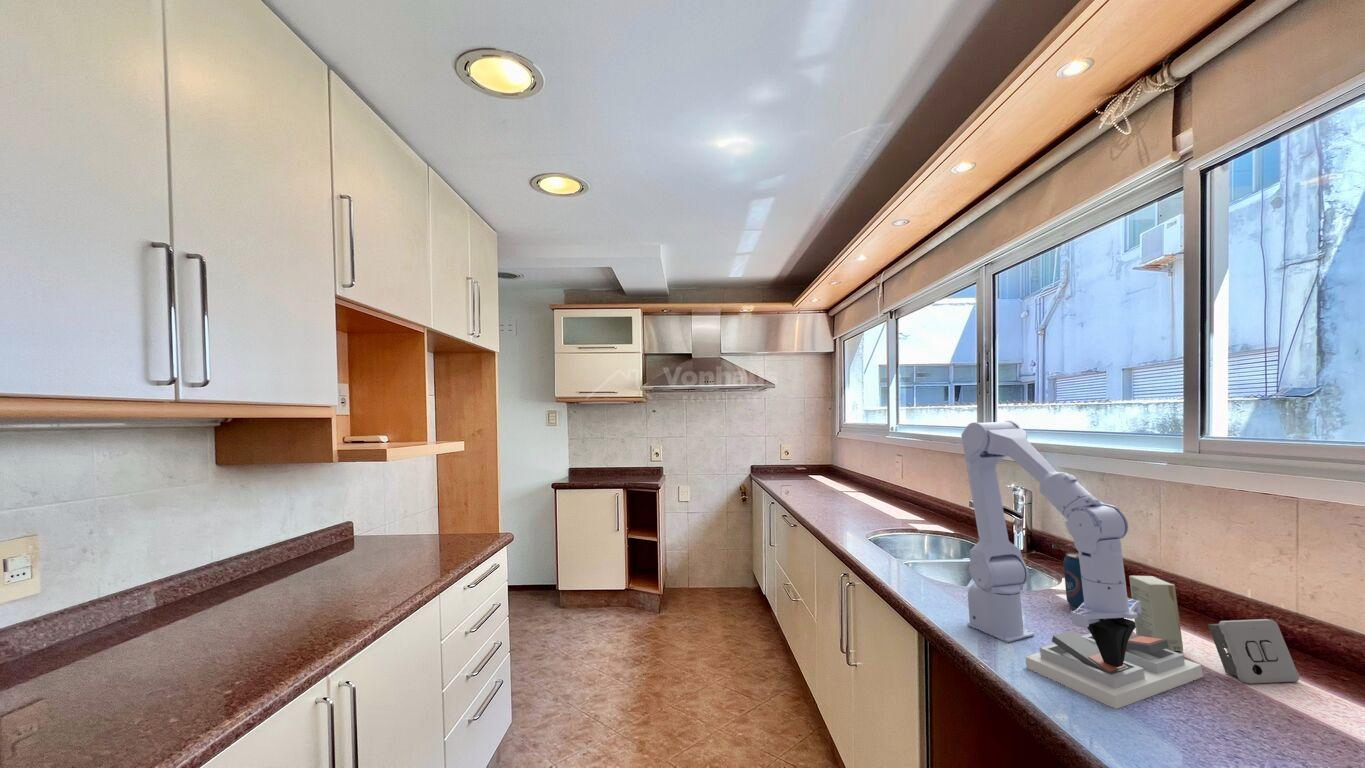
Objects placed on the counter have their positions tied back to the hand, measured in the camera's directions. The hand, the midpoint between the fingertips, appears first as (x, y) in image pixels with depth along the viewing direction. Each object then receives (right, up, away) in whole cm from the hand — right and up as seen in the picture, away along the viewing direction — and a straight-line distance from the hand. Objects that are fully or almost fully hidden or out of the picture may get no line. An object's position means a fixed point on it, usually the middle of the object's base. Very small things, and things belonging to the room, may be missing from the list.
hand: (1113, 664), depth 82 cm
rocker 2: (+9, 0, +7) cm, 12 cm away
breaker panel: (+4, -4, +5) cm, 8 cm away
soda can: (+22, -6, +33) cm, 40 cm away
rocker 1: (-1, 0, +3) cm, 4 cm away
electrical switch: (+26, -4, +2) cm, 26 cm away
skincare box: (+21, -5, +14) cm, 26 cm away
